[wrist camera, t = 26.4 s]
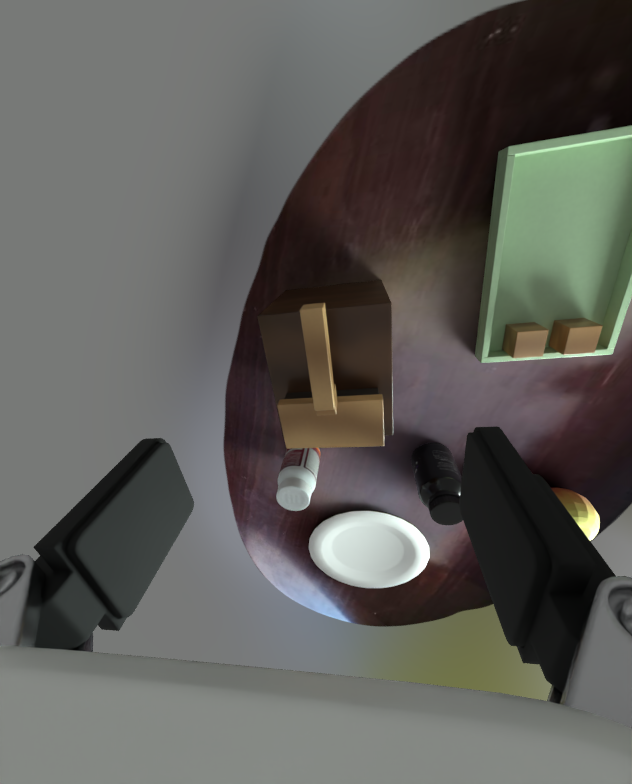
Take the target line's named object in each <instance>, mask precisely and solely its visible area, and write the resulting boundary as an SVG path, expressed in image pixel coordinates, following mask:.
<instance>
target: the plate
mask: <svg viewBox="0 0 632 784" xmlns="http://www.w3.org/2000/svg"><path fill="white" fill-rule="evenodd" d="M309 552H310V555H311V558H312V560H313V561H314V562H315V564H316V565H317V567H318V568H320V569H321V570H322V571H323V572H324V573H326V574H327V575H328V576H330V577H332V578H334V579H336V580H338V581H340V582H343V583H346V584H349V585H352V586H357V587H364V588H385V587H392V586H396V585H399V584H402V583H405V582H408V581H409V580H411V579H412V578H414V577H416V576H417V575H419V573H420V572H421V571H422V570H423V569H424V568H425V567H426V564H427V562H428V559H429V546H428V543H427V541H426V539H425V537H424V535H423V534H422V533H421V532H420V531H419V530H418V529H417V528H416V527H415V526H414V525H412V524H410V523H409V522H407V521H406V520H404V519H402V518H400V517H397V516H394V515H391V514H388V513H385V512H378V511H372V510H357V511H348V512H344V513H340V514H336V515H334V516H332V517H330V518H328V519H326V520H324V521H322V522H321V523H320V524H319V525H318V526H317V527H316V528H315V529H314V531H313V533H312V534H311V536H310V539H309Z"/></svg>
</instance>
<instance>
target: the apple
mask: <svg viewBox="0 0 632 784" xmlns="http://www.w3.org/2000/svg"><path fill="white" fill-rule="evenodd" d="M551 489H552V490H553V492H554V493H555V494H556V496H557V497H558V498H559V500H560V501H561V502H562V504H563V505H564V507H565V508H566V509H567V511H568V512H569V513H570V515H571V516H572V517H573V519H574V520H575V521H576V523H577V524H578V526H579V527H580V528H581V530H582V531H583V532H584V534H585V535H586V536H587V538H588V539H589V540H592V539H593V538H594V537H595V536H596V534H597V533H598V530H599V524H600V521H599V515H598V514H597V512H596V510H595V509H594V508H593V506H592V505H591V503H590V502H589V501H588V500H587V499H586V498H585V497H583V496H581V495H579V494H577V493H575V492H573V491H571V490H568V489H563V488H551Z"/></svg>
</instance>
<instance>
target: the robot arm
mask: <svg viewBox="0 0 632 784" xmlns="http://www.w3.org/2000/svg"><path fill="white" fill-rule="evenodd" d="M459 505H460V511H461V515H462V517H463V520H464V523H465V526H466V529H467V531H468V534H469V537H470V540H471V542H472V545H473V548H474V551H475V554H476V556H477V559H478V562H479V565H480V568H481V570H482V573H483V576H484V579H485V581H486V584H487V587H488V590H489V593H490V595H491V598H492V601H493V604H494V606H495V609H496V612H497V615H498V617H499V620H500V623H501V626H502V629H503V632H504V634H505V637H506V639H507V641H508V643H509V644H510V645H511V646H517V648H518V650H519V653H520V656H521V659H522V661H523V663H530V664H540V666H541V669H542V671H543V674H544V676H545V678H546V680H547V681H548V682H549V683H551V684H552V687H551V691H550V693H549V696H548V700H547V701H543V700H538V699H531V698H526V697H520V696H514V695H509V694H503V693H496V692H488V691H480V690H471V689H463V688H454V687H446V686H438V685H430V684H421V683H413V682H403V681H393V680H383V679H373V678H363V677H353V676H342V675H333V674H322V673H313V672H302V671H293V670H283V669H271V668H261V667H250V666H240V665H230V664H219V663H207V662H197V661H186V660H176V659H164V658H155V657H154V658H153V657H143V656H131V655H120V654H108V653H97V652H93V631H94V629H95V628H96V626H97V625H99V627H100V628H101V629H104V630H116V631H117V630H118V631H119V630H120V628H121V627H122V625H123V623H124V621H125V620H126V618H127V617H129V616H130V615H131V614H132V613H133V612H134V611H135V609H136V607H137V605H138V604H139V602H140V600H141V599H142V597H143V595H144V593H145V591H146V590H147V588H148V586H149V585H150V583H151V581H152V579H153V578H154V576H155V574H156V573H157V571H158V569H159V567H160V566H161V564H162V562H163V560H164V559H165V557H166V556H167V554H168V552H169V550H170V548H171V547H172V545H173V543H174V542H175V540H176V538H177V537H178V535H179V533H180V531H181V530H182V528H183V526H184V525H185V523H186V521H187V519H188V517H189V516H190V514H191V512H192V510H193V507H194V501H193V498H192V496H191V494H190V491H189V489H188V487H187V484H186V482H185V480H184V477H183V475H182V472H181V470H180V468H179V465H178V463H177V460H176V458H175V456H174V453H173V451H172V449H171V447H170V445H169V444H168V443H166V442H165V440H163V439H161V438H154V439H143V440H142V441H140V442H139V443H138V444H137V445H136V446H135V447H134V448H133V449H132V450H131V451H130V452H129V453H128V454H127V455H126V456H125V457H124V458H123V459H122V460H121V461H120V462H119V463H118V464H117V465H116V466H115V467H114V468H113V469H112V470H111V471H110V472H109V473H108V474H107V475H106V476H105V477H104V478H103V479H102V480H101V481H100V482H99V483H98V484H97V485H96V486H95V487H94V488H93V489H92V490H91V491H90V492H89V493H88V494H87V495H86V496H85V497H84V498H83V499H82V500H81V501H80V502H79V503H78V504H77V505H76V506H75V507H74V508H73V509H72V510H71V511H70V512H69V513H68V514H67V515H66V516H65V517H64V518H63V519H62V520H61V521H60V522H59V523H58V524H57V525H56V526H55V527H53V528H52V529H51V530H50V531H49V532H48V534H47V535H45V536H44V537H43V538H42V539H41V540H40V541H39V542H38V543H37V544H36V545H35V546H34V548H35V550H36V551H37V552H38V553H39V554H40V557H39V558H38V559H37V560H36V561H34V560H33V559H32V558H31V557H30V556H29V555H23V554H22V555H17V556H12V557H10V558H7V559H4V560H2V561H0V784H632V578H631V577H626V576H618V577H616V576H615V574H614V573H613V572H612V570H611V569H610V568H609V566H608V565H607V564H606V562H605V561H604V559H603V558H602V557H601V555H600V554H599V553H598V551H597V550H596V549H595V547H594V546H593V545H592V543H591V542H590V540H589V539H588V538H587V536H586V535H585V534H584V532H583V531H582V530H581V528H580V527H579V526H578V524H577V523H576V521H575V520H574V519H573V517H572V516H571V515H570V513H569V512H568V511H567V509H566V508H565V507H564V505H563V504H562V502H561V501H560V500H559V498H558V497H557V496H556V494H555V493H554V492H553V490H552V489H551V488H550V486H549V485H548V483H547V482H546V481H545V480H544V479H543V478H542V477H541V476H540V475H538V474H532V472H531V471H530V470H529V468H528V467H527V465H526V464H525V463H524V461H523V460H522V458H521V457H520V455H519V454H518V453H517V451H516V450H515V448H514V447H513V446H512V444H511V443H510V441H509V440H508V438H507V437H506V436H505V434H504V433H503V431H502V430H501V429H500V428H499V427H476V428H475V430H474V433H468V435H467V441H466V449H465V458H464V466H463V474H462V483H461V491H460V500H459Z"/></svg>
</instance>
